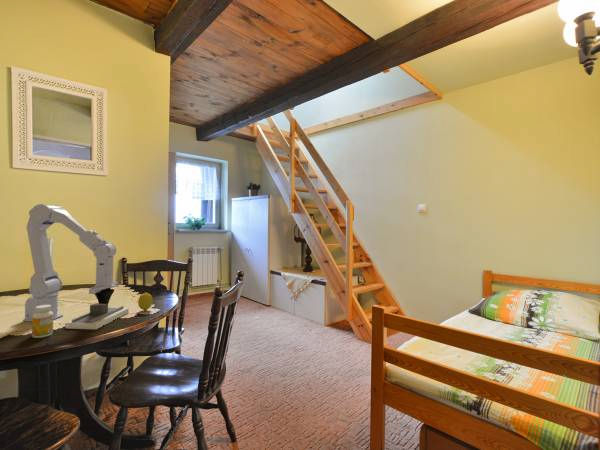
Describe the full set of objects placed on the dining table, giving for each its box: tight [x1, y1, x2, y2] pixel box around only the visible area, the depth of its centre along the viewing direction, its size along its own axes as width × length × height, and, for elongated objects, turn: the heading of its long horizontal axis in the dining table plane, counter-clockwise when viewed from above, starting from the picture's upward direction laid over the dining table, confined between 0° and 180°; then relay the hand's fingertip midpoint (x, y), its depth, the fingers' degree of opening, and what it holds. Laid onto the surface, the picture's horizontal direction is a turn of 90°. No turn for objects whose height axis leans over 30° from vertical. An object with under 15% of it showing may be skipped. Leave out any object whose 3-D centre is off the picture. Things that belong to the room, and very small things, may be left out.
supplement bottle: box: [31, 305, 54, 339], centre depth 102 cm, size 5×5×10 cm
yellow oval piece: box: [137, 292, 153, 312], centre depth 133 cm, size 6×6×8 cm
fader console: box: [65, 305, 129, 330], centre depth 119 cm, size 11×20×3 cm, turn 179°
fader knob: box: [89, 302, 109, 316], centre depth 118 cm, size 5×3×4 cm, turn 89°
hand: (103, 308), depth 121 cm, fingers closed
